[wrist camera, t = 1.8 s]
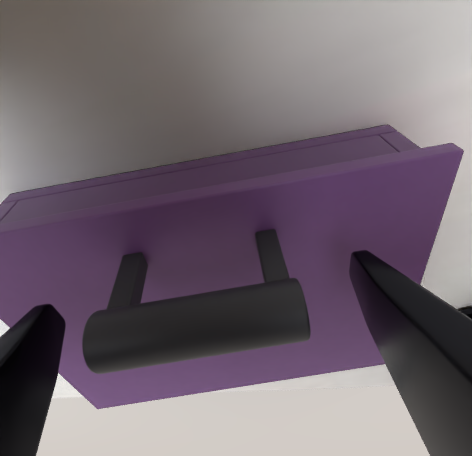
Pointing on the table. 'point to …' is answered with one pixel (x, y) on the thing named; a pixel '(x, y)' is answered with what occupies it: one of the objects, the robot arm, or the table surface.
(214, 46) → the table surface
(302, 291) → the lid
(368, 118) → the table surface
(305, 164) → the box
